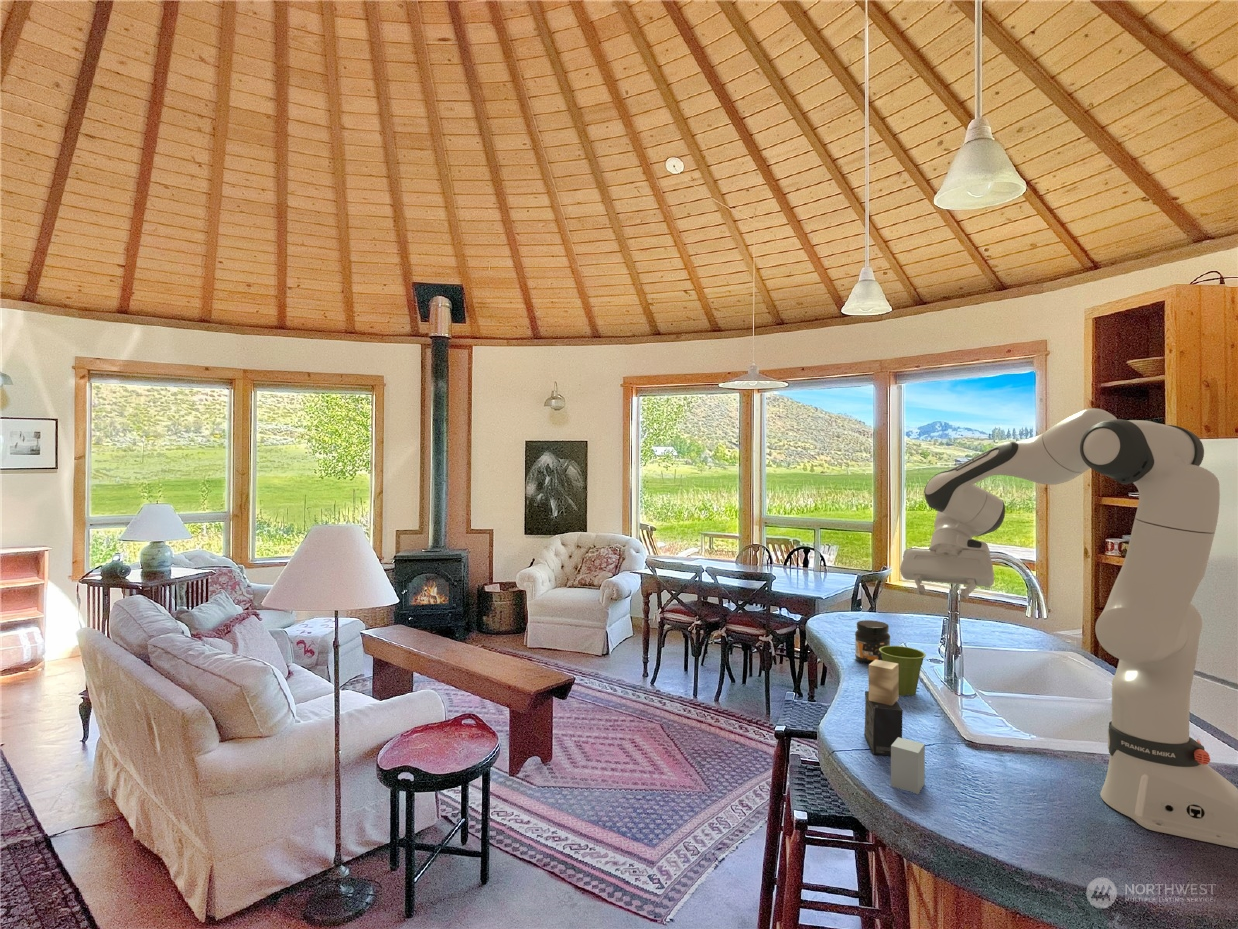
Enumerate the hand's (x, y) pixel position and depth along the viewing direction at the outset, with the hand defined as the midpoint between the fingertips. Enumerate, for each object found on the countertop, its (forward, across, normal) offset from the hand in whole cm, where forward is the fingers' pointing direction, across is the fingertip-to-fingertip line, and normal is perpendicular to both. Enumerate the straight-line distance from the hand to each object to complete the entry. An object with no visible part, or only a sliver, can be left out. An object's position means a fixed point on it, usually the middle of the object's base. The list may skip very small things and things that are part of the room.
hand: (941, 595), depth 150 cm
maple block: (+27, -9, +4) cm, 29 cm away
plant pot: (+7, -15, +38) cm, 42 cm away
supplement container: (-10, -30, +54) cm, 63 cm away
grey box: (+45, 0, +1) cm, 45 cm away
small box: (+34, -9, +12) cm, 38 cm away
